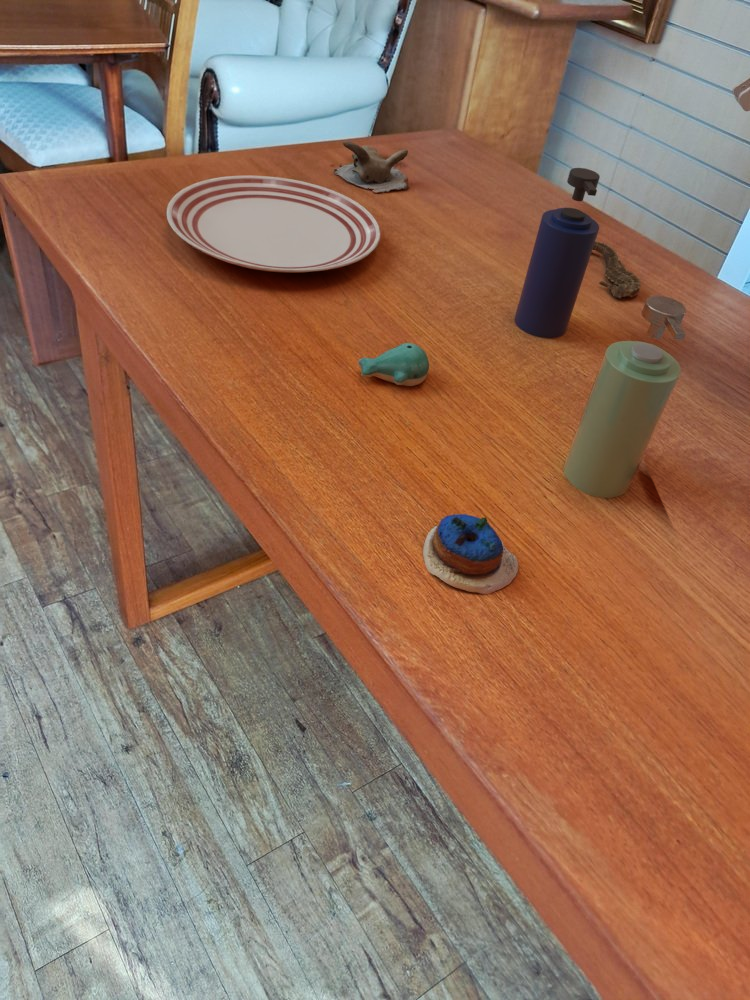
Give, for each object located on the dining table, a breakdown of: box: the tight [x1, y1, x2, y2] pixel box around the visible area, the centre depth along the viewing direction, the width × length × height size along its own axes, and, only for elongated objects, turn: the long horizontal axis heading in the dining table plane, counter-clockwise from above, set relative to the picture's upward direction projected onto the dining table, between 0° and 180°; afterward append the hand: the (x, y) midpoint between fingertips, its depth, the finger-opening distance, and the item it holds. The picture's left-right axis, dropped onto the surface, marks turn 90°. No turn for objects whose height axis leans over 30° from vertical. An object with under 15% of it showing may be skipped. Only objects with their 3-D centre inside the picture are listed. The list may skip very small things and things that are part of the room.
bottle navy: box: [514, 207, 600, 339], centre depth 92 cm, size 6×6×14 cm
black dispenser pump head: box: [566, 167, 601, 202], centre depth 84 cm, size 3×6×3 cm, turn 2°
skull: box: [333, 141, 409, 194], centre depth 122 cm, size 10×12×6 cm
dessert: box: [422, 513, 519, 595], centre depth 65 cm, size 8×7×6 cm
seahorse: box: [592, 241, 642, 300], centre depth 108 cm, size 6×15×2 cm, turn 13°
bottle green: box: [562, 340, 682, 499], centre depth 71 cm, size 6×6×14 cm
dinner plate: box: [166, 175, 381, 273], centre depth 103 cm, size 27×27×3 cm
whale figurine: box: [357, 342, 430, 387], centre depth 83 cm, size 6×7×4 cm
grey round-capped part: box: [641, 295, 687, 341], centre depth 64 cm, size 3×6×3 cm, turn 2°
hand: (737, 100), depth 75 cm, fingers closed
